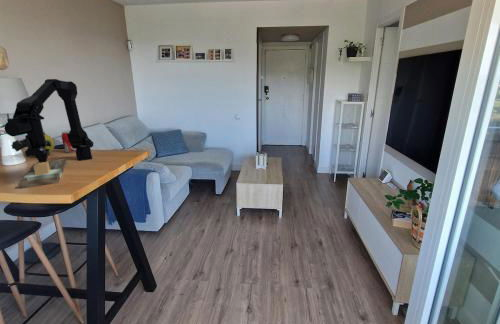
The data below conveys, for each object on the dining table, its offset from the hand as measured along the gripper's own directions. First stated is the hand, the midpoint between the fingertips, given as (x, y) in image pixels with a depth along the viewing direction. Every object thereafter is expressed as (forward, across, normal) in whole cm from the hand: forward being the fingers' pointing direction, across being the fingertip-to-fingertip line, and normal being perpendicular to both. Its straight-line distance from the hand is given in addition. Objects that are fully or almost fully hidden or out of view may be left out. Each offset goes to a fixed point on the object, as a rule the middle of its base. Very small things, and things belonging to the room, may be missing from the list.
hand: (43, 166), depth 120 cm
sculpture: (+5, -45, -8) cm, 46 cm away
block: (+2, +4, 0) cm, 4 cm away
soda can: (+5, -45, +6) cm, 46 cm away
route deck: (+4, -2, 0) cm, 5 cm away
